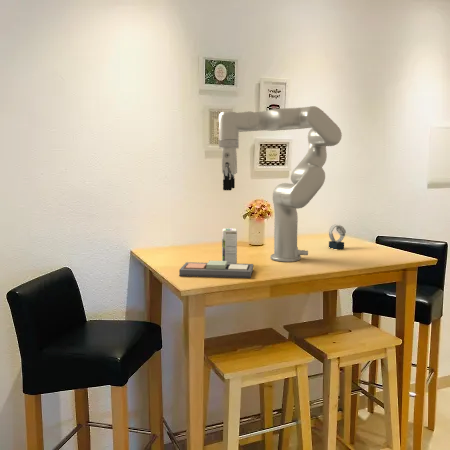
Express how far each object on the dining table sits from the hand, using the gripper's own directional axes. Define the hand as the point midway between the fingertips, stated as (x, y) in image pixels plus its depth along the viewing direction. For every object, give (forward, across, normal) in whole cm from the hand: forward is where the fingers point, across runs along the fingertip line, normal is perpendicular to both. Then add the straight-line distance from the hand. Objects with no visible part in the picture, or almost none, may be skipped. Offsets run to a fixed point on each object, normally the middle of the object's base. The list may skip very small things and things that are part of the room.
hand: (229, 189), depth 193 cm
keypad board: (+30, -13, +3) cm, 33 cm away
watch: (+31, +38, -45) cm, 66 cm away
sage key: (+28, -13, +3) cm, 31 cm away
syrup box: (+31, 0, 0) cm, 31 cm away
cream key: (+29, -13, -5) cm, 32 cm away
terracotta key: (+29, -13, +11) cm, 34 cm away
